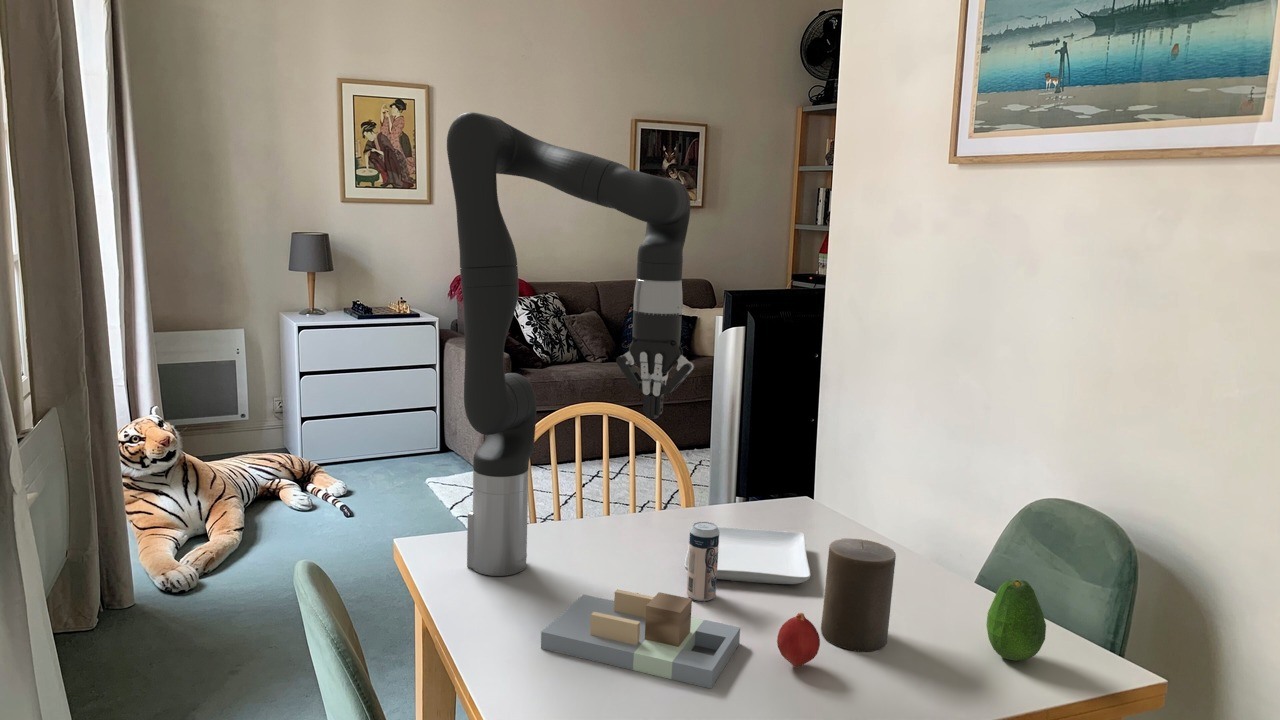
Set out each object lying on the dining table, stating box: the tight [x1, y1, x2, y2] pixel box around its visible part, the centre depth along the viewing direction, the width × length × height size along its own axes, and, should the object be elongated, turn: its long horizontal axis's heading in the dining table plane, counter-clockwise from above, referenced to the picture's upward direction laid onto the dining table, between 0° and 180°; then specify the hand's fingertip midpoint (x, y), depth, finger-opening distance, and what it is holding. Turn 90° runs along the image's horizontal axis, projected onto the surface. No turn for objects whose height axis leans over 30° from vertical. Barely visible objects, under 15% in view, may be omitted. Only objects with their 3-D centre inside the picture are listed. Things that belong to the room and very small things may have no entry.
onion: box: [776, 612, 821, 668], centre depth 127 cm, size 6×6×8 cm
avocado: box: [986, 577, 1047, 662], centre depth 131 cm, size 8×8×12 cm
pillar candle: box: [820, 537, 897, 652], centre depth 136 cm, size 10×10×15 cm
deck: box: [540, 589, 741, 689], centre depth 131 cm, size 25×14×6 cm, turn 69°
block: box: [645, 591, 693, 647], centre depth 129 cm, size 5×5×5 cm
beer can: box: [686, 521, 720, 602], centre depth 148 cm, size 5×5×12 cm
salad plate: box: [683, 526, 811, 585], centre depth 163 cm, size 21×21×3 cm
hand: (652, 417), depth 146 cm, fingers closed
